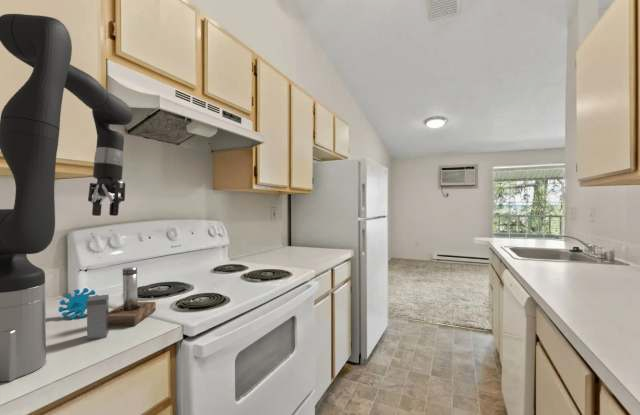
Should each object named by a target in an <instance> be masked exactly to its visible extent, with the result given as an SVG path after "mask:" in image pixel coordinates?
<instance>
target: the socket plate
mask: <svg viewBox="0 0 640 415" xmlns="http://www.w3.org/2000/svg"><path fill="white" fill-rule="evenodd" d="M137 303H138V309H137V310H133V311H123V303H122V304H121V305H119V306H117V307H116V308H113V309H112V310H110V311H109V328H111V327H136V326H137V325H139V324H140V323H142V321H144V320H145V319H148V317H149V316H151V315H152V314H154V313H155V312H156V311H157V308H156V301H137ZM155 310H156V311H155ZM154 311H155V312H154ZM153 312H154V313H153Z"/></svg>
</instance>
